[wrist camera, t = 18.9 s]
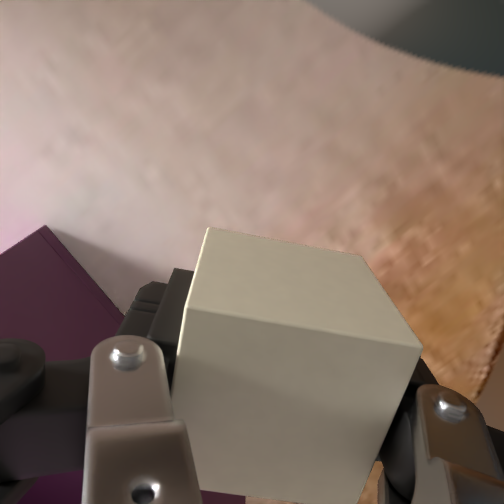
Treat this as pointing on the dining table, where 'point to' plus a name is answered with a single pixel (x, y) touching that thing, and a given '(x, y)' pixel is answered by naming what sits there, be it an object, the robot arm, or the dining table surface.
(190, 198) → the dining table surface
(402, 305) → the dining table surface
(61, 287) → the purple open box
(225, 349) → the block
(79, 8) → the dining table surface
